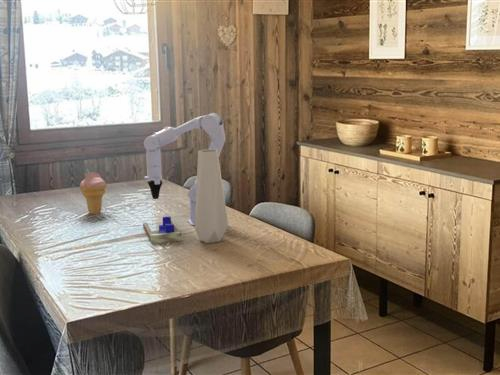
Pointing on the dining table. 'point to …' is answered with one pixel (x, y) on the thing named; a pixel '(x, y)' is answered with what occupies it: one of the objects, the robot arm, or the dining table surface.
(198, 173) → the vase
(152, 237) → the guide
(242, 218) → the dining table surface
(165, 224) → the cable clip
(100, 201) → the ice cream cone
